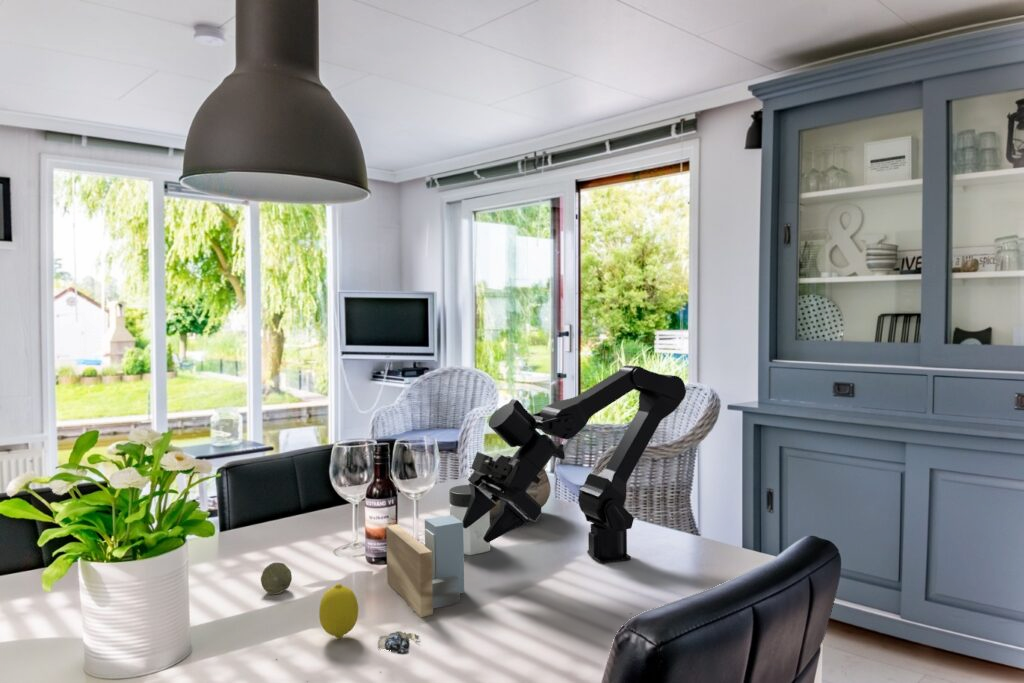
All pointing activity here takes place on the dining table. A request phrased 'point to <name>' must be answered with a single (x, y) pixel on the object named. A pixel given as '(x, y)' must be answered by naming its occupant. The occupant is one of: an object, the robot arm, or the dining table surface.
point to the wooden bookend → (416, 573)
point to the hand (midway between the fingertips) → (473, 533)
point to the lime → (276, 578)
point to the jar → (474, 532)
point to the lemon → (338, 611)
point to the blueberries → (397, 642)
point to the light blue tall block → (446, 547)
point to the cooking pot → (532, 492)
